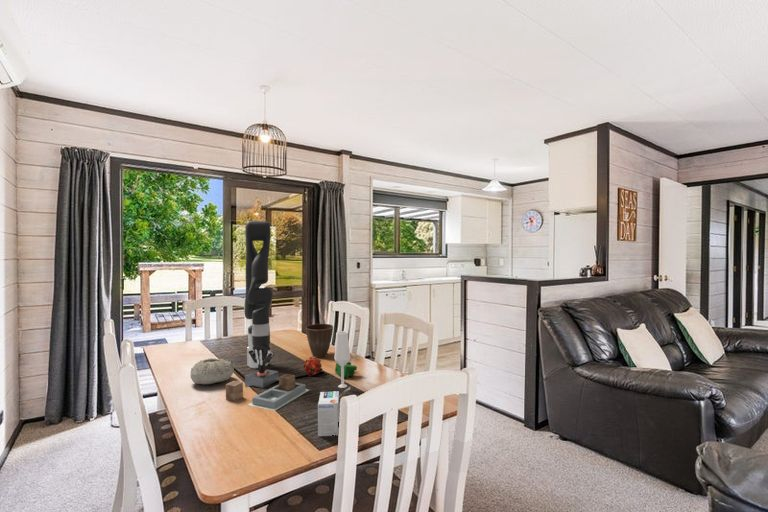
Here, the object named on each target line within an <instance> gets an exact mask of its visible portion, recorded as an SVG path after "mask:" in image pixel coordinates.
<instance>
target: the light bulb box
mask: <svg viewBox="0 0 768 512" xmlns="http://www.w3.org/2000/svg"><path fill="white" fill-rule="evenodd" d="M338 422H339V423H340V391H338V390H337V391H335V390H334V391H320V392H319V399H318V402H317V437H335V435H336V436H338V435H339V428H338ZM332 435H334V436H332Z"/></svg>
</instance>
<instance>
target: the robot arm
mask: <svg viewBox="0 0 768 512" xmlns="http://www.w3.org/2000/svg"><path fill="white" fill-rule="evenodd" d="M244 229H245V251H246V252H245V254H246V255H245V258H246V259H245V297H244V298H245V299H244V310H243V311H244V317H245V319H247V320H251V323H252V324H250V326H248V328H247V337H248V338H247V339H248V343H247V344H248V346H247V347H246V360H247V361H246V363H247V367H249V368H251V369H257V370H258V371H259V373H264V372H265V369H266V367H267V366H268V365H269V363H270V362H271V360H272V358H273V357H274V355H275V352H274V351H273V352H272V351H271V347H270V344H271V327H270V308H271V305H272V302H273V301H272V300H273V297H274V296H273V295H274V293H273V290H272V289H271V288H270V287H261V286H263V285H264V284H267V283H268V281H269V255H270V247H271V231H272V230H271V224H270V222H269V221H266V220H265V221H264V220H262V221H261V220H247V222H246V224H245V228H244ZM256 241H257V242H261V241H262V246H261V248H260V250H259V251H257V249H256V247H255V245H254V242H256Z"/></svg>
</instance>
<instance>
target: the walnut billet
mask: <svg viewBox="0 0 768 512" xmlns="http://www.w3.org/2000/svg"><path fill="white" fill-rule="evenodd" d="M242 398H244V383H243V381H237V380H232V381H230V382H228V383H226V384H225V400H226V401H230V402H236V401H238V400H241V399H242Z"/></svg>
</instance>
